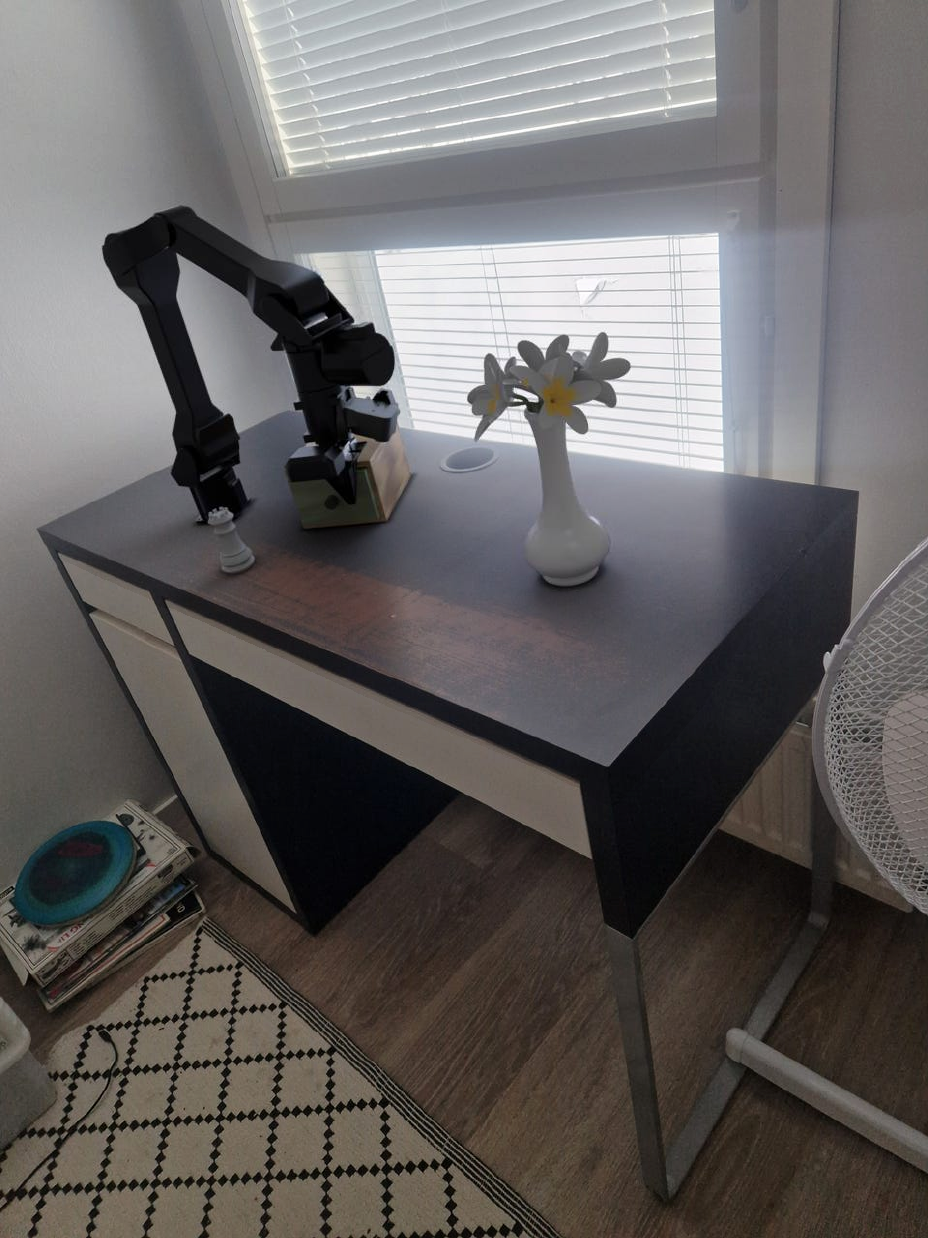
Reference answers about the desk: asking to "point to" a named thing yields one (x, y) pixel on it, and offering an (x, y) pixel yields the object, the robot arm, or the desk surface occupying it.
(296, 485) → the drawer
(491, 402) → the flower vase
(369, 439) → the drawer unit
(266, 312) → the robot arm
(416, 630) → the desk surface
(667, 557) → the desk surface
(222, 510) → the rook chess piece
